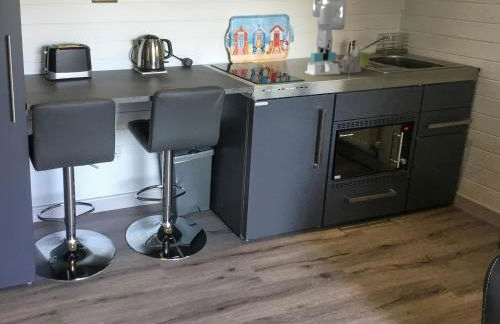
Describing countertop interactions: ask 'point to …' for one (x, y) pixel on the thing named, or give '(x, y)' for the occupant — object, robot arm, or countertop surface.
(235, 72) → the countertop surface
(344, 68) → the grey irregular blocky piece
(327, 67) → the display cradle
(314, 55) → the teal rectangular stick
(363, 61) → the plant pot
